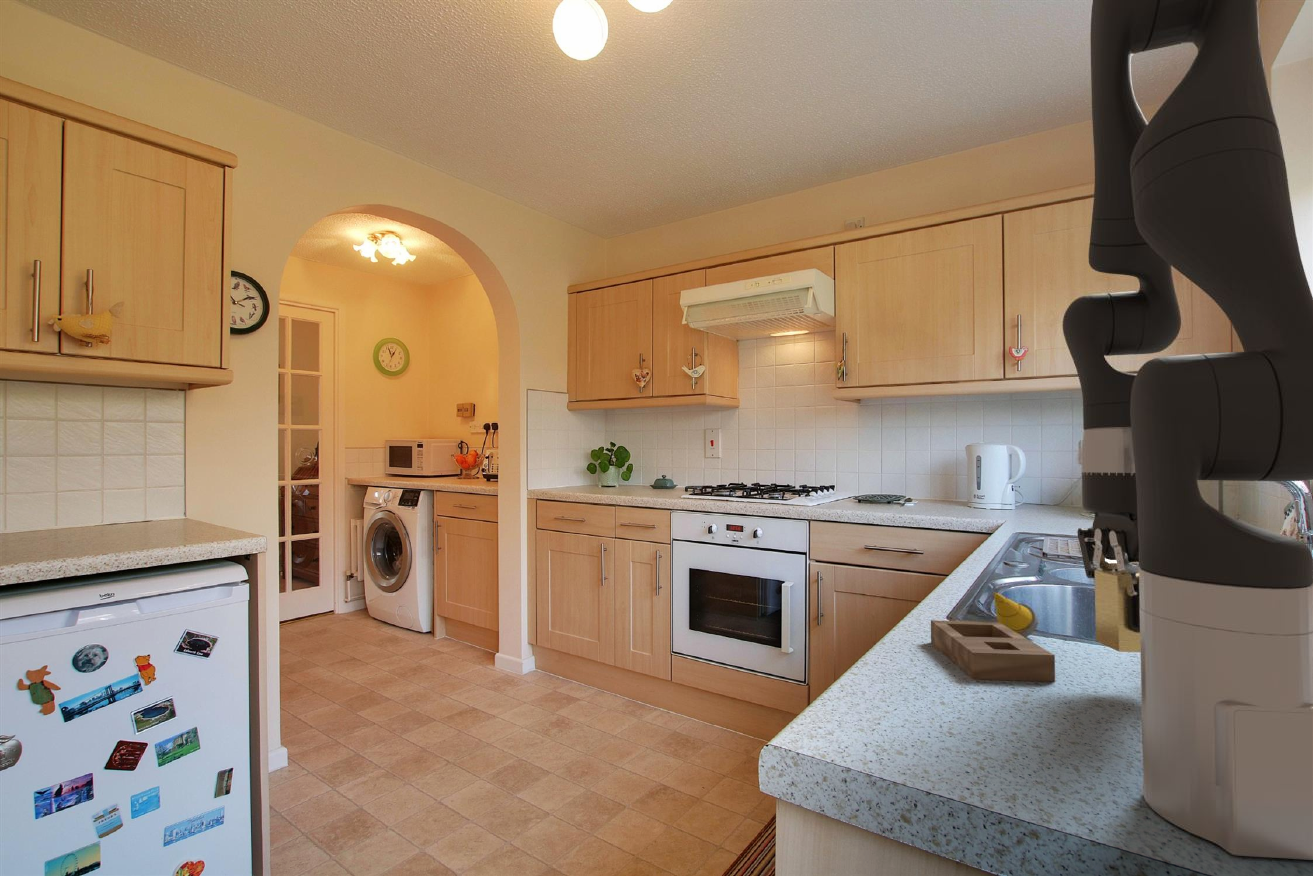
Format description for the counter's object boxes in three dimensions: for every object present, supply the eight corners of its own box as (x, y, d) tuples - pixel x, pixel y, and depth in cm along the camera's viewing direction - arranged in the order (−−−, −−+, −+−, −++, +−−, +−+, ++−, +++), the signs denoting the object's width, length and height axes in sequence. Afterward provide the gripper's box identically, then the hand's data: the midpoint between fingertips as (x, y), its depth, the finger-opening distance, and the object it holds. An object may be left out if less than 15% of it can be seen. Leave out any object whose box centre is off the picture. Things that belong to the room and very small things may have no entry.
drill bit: (1051, 645, 86) (1018, 601, 82) (1011, 655, 88) (977, 612, 85) (1041, 615, 90) (1009, 571, 87) (1004, 624, 93) (971, 583, 89)
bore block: (1055, 681, 71) (1054, 655, 71) (972, 678, 71) (972, 652, 71) (999, 644, 84) (998, 622, 85) (930, 642, 85) (930, 620, 85)
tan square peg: (1159, 653, 65) (1157, 577, 66) (1119, 651, 66) (1117, 576, 66) (1133, 642, 69) (1132, 571, 70) (1096, 641, 70) (1094, 570, 70)
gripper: (1210, 470, 61) (1215, 646, 60) (1116, 470, 75) (1120, 612, 74) (1129, 469, 62) (1133, 643, 61) (1052, 469, 76) (1054, 610, 75)
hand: (1126, 625), depth 68 cm, fingers closed on tan square peg, 4 cm apart
